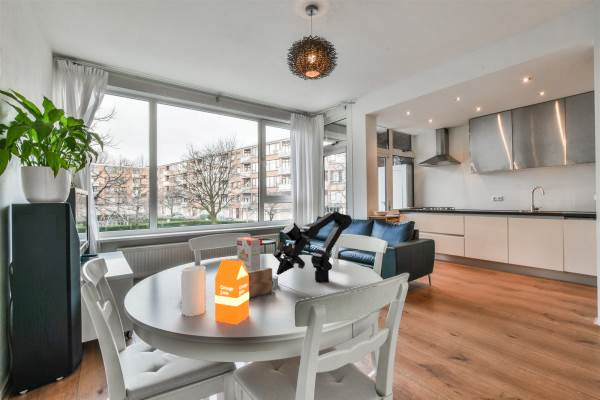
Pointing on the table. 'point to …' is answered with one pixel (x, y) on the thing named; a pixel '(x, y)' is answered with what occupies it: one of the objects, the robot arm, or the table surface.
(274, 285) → the letter cube
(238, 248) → the cracker box
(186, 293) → the cup
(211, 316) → the table surface
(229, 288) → the orange juice
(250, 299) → the rail
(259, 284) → the brown wooden block
